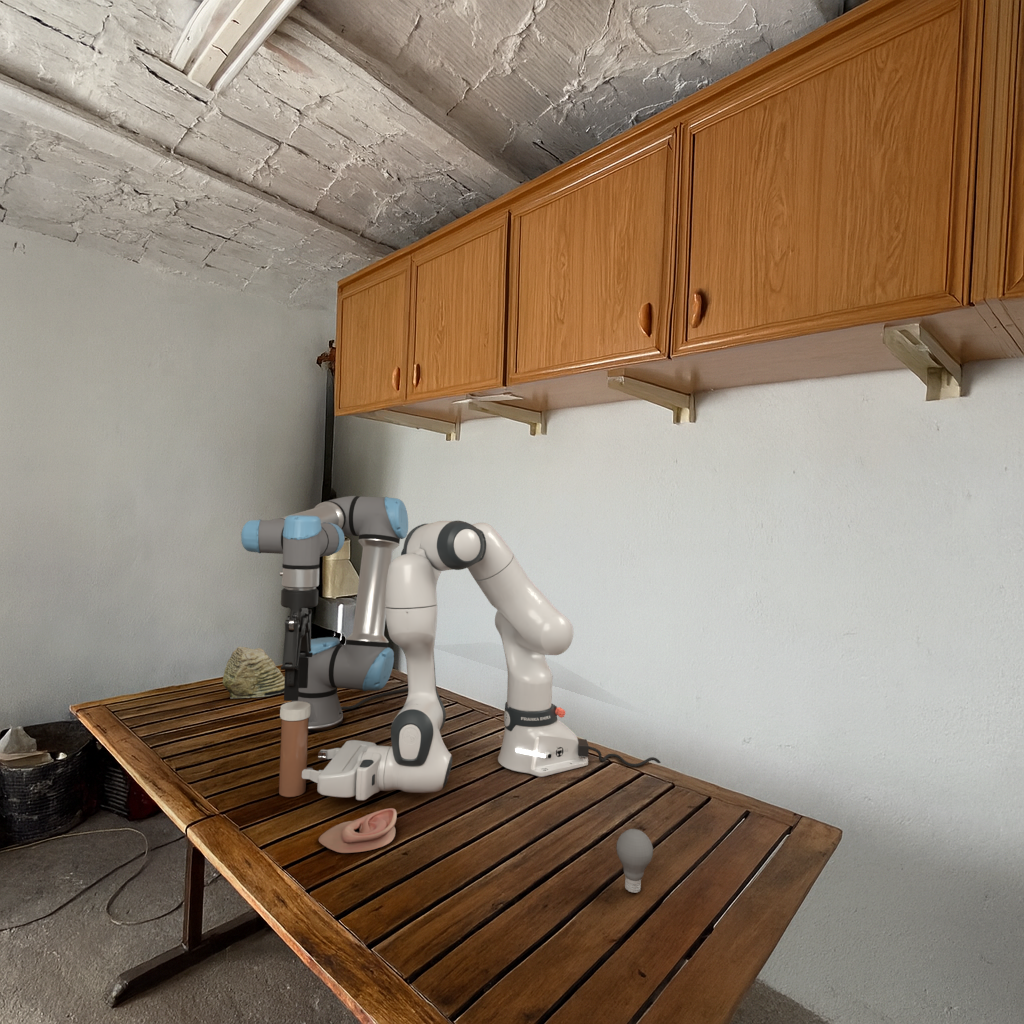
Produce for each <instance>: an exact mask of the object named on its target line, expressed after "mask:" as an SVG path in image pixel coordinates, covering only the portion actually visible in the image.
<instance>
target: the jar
mask: <svg viewBox="0 0 1024 1024" xmlns="http://www.w3.org/2000/svg"><path fill="white" fill-rule="evenodd" d="M280 719H281V718H280ZM308 723H309V717H308V718H306V719H304V720H299V721H286V720H283V719H281V720H280V747H279V749H280V750H279V771H278V773H279V775H278V776H279V777H278V778H279V779H278V794H279V795H280V796H282V797H285V798H295V797H298V796H301V795H303V794H305V793H306V791H307V779H303V778H302V771H303V770H304V769H305V768H306V767H308V747H309V746H308V745H309V732H308Z"/></svg>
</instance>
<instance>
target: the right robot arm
mask: <svg viewBox="0 0 1024 1024" xmlns="http://www.w3.org/2000/svg"><path fill="white" fill-rule="evenodd" d="M465 569H468V571H469V573H470V575H471V577H472V578H473V579H474V581H475V583H476V584H477V586H478V587H479V588H480V590H481V592H482V593H483V594H484V596H485V598H486V599H487V600H488V602H489V604H490V605H491V606H492V607H493V608H494V609H496V613H495V616H494V626H495V628H496V630H497V632H498V634H499V636H500V639H501V642H502V643H501V644H502V646H503V652H504V656H505V663H506V671H507V691H506V701H505V704H504V711H503V712H504V713H503V726H504V731H503V737H502V743H501V746H500V750H499V754H498V756H497V762H498V763H499V764H500V765H501V767H503V768H505V769H508V770H509V771H510V770H511V771H513V772H516V773H517V772H518V773H524V774H530V775H532V776H535V777H540V778H543V777H547V776H550V775H556V774H559V773H563V772H567V771H570V770H571V771H572V770H575V769H578V768H579V769H580V768H582V767H586V766H589V752H590V751H594V752H595V753H597V755H598V759H599V761H600V762H602V763H604V762H606V761H607V760H608V759H609V758H611V757H612V758H616V759H618V760H619V761H620V762H622V764H624V765H625V766H627V767H631V768H638V767H641V766H644V765H645V764H648V763H649V762H651V761H654V762H656V763H657V764H661V761H660V759H658V758H657V757H654V756H651V757H648V758H646V759H645V760H643V761H641V762H638V763H631V762H628V761H626V760H625V759H624V758H623V757H622V756H621V755H618V754H616V753H608V754H606V755H605V756H604V757H603V755H602V752H601V751H600V749H598V748H597V747H593V746H590V745H589V742H588V740H587V738H585V739H584V738H578V737H577V734H576V733H575V732H574V731H573V730H572V729H571V728H569V727H568V726H567V725H566V724H564V722H562V721H561V720H560V719H559V718H561V719H562V718H564V717H565V716H566V710H565V709H564V708H563V707H558V706H557V705H555V704H553V703H552V700H553V678H554V675H553V672H552V669H551V667H550V666H549V664H548V662H547V659H546V656H559V655H562V654H564V653H565V652H566V651H567V650H569V648H570V647H571V646H572V643H573V641H574V635H575V632H574V626H573V623H572V621H571V620H570V619H569V618H568V617H567V616H565V614H563V613H562V612H561V611H560V610H559V609H558V608H556V607H555V606H554V604H553V603H552V601H550V600H549V599H548V597H547V596H546V594H544V593H543V592H542V591H541V589H539V587H537V586H536V584H535V583H534V581H532V580H531V578H530V577H529V576H528V574H527V572H526V571H525V569H524V568H523V566H522V565H521V563H520V561H519V560H518V559H517V557H516V555H515V554H514V552H513V551H512V549H511V547H510V546H509V545H508V544H507V542H506V541H505V540H504V538H503V537H502V535H500V534H499V533H498V531H497V530H496V529H495V528H494V527H493V526H492V525H490V524H489V523H486V522H476V523H469V522H466V521H463V520H438V521H434V522H430V523H422V524H419V525H417V526H415V527H414V528H412V529H411V530H410V531H408V533H407V536H406V537H405V538H404V543H403V547H402V550H401V552H400V555H398V556H396V557H395V558H393V559H392V562H391V563H390V565H389V569H388V574H387V582H386V595H385V610H386V620H385V624H386V629H387V632H388V637H389V639H390V640H391V642H393V643H394V645H396V646H397V647H399V648H400V649H401V650H402V652H403V654H404V657H405V662H406V676H407V688H408V691H407V692H408V693H407V697H406V700H405V703H404V705H403V707H402V708H401V709H400V710H399V711H398V713H397V714H396V715H395V717H394V718H393V721H392V722H391V726H390V741H391V742H390V743H391V746H390V745H377V744H376V743H375V742H372V741H367V740H365V741H364V740H357V739H349V740H347V741H345V743H344V744H343V745H342V746H341V747H334V748H329V749H320V750H319V752H318V753H317V759H318V761H327V760H330V761H328V764H327V765H326V766H325V767H324V768H323V769H318V770H315V769H314V768H313V767H308V766H307V767H306V768H305V769H304V770H303V771H302V778H303V779H306V780H310V781H311V782H314V783H316V784H317V787H316V788H317V789H316V790H317V791H316V792H317V793H318V794H320V795H321V796H326V797H333V798H354V797H355V800H357V801H366V800H367V799H369V798H371V797H372V796H373V795H375V794H377V793H379V792H380V791H381V792H390V791H396V790H397V791H402V792H404V793H408V794H409V793H413V794H428V793H429V794H431V793H438V792H440V791H442V790H443V789H445V787H446V786H447V783H448V781H449V778H450V774H451V770H452V765H453V755H452V754H451V752H450V751H449V750H448V748H447V746H446V745H445V743H444V740H443V737H442V734H441V731H442V729H443V727H444V725H445V723H446V718H447V713H446V709H445V708H446V707H445V704H444V703H443V701H442V698H441V697H440V695H439V692H438V688H437V680H436V679H437V678H436V663H435V642H436V635H437V629H438V628H437V627H438V593H437V585H438V580H439V577H440V575H441V573H442V572H446V571H452V570H454V571H461V570H465Z"/></svg>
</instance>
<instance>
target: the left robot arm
mask: <svg viewBox="0 0 1024 1024" xmlns="http://www.w3.org/2000/svg"><path fill="white" fill-rule="evenodd" d="M408 515H409V514H408V511H407V507H406V505H405V503H404V501H402V499H400V498H397V497H388V496H362V495H361V496H358V495H348V496H341V497H338V498H333V499H328V500H325V501H323V502H322V501H321V502H320V503H318V504H317V505H315V506H314V507H313V508H310V509H307V510H303V511H299V512H296V513H292V514H288V515H285V516H281V517H277V518H273V519H269V520H265V519H264V520H263V519H250V520H248V521H246V523H244V525H243V527H242V529H241V532H240V533H241V534H240V535H241V536H240V537H241V539H240V540H241V544H242V547H243V548H244V550H246V551H247V552H250V553H257V554H276V555H277V554H280V555H282V564H281V565H282V571H280V572H279V576H280V577H282V578H281V586H282V587H283V588H282V589H281V590H280V605H281V607H283V608H286V609H287V608H288V609H290V612H289V615H287V619H285V621H284V644H283V655H282V665H280V671H284V677H285V684H284V692H283V702H295V701H302V702H307V703H309V704H310V707H311V710H310V716H309V723H308V733H316V732H325V731H329V730H332V729H335V728H337V727H339V726H340V725H342V723H343V722H344V714H343V711H345V710H346V711H347V710H350V711H351V710H353V709H354V710H355V709H356V708H358V707H359V706H361V705H362V704H364V703H366V702H368V701H369V702H370V701H372V700H374V699H377V698H381V697H386V696H390V695H394V694H400V693H405V692H408V687H406V688H402V689H401V688H400V689H395V690H389V691H386V692H381V693H377V694H374V695H371V696H369V697H366V698H363V699H362V700H360V701H359V702H356V703H355V704H353V705H348V706H347V705H346V706H345V705H343V706H341V702H340V699H339V695H338V689H346V690H357V691H363V692H368V691H370V692H371V691H373V692H377V691H380V690H382V689H383V688H384V687H385V686H386V685H387V684H388V682H389V680H390V677H391V675H392V671H393V668H394V662H395V657H394V656H395V652H394V650H393V649H392V648H391V647H389V642H390V641H389V639H387V637H386V636H385V627H386V610H385V595H386V582H387V574H388V569H389V565H390V563H391V562H392V561H393V559H394V557H393V556H394V551H395V550H396V549H397V548H398V547H399V546H400V543H401V540H403V539H404V540H405V539H406V537H407V535H408V534H409V516H408ZM345 536H351V537H358V539H357V542H358V543H359V544H360V546H361V547H362V551H361V552H362V553H361V560H360V568H359V569H360V570H359V578H358V585H357V593H356V600H355V609H354V617H353V625H352V632H351V634H350V635H348V636H347V637H346V638H345V644H341V641H340V639H339V638H338V637H334V636H325V637H317V638H312V613H313V611H312V608H315V607H317V606H318V604H319V589H318V588H317V587H319V585H320V558H321V557H330V556H333V555H334V554H337V553H338V552H340V550H341V549H342V548H343V546H344V544H345V541H346V539H345Z"/></svg>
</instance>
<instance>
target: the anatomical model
mask: <svg viewBox="0 0 1024 1024" xmlns="http://www.w3.org/2000/svg"><path fill="white" fill-rule="evenodd" d="M397 816H398V813H397V810H396V809H395V808H392V807H390V808H384V809H380V810H377V811H374V812H371V813H369V814H366V815H364V816H362V817H360V818H357V819H354V820H348V821H343V822H341V823H339V824H335V825H334V826H332V827H330V828H328V830H326V831H324V832H323V833H322V834H321V835H320V836H319V837H318V842H319V843H320V844H321V845H322V846H324V847H325V848H327V849H329V850H332V851H333V852H336V853H339V854H351V853H361V852H367V851H372V850H376V849H380V848H382V847H385V846H387V845H389V844H390V843H392V842H393V840H394V839H395V837H396V833H397V832H396V827H395V825H396V823H397V818H398V817H397Z"/></svg>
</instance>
